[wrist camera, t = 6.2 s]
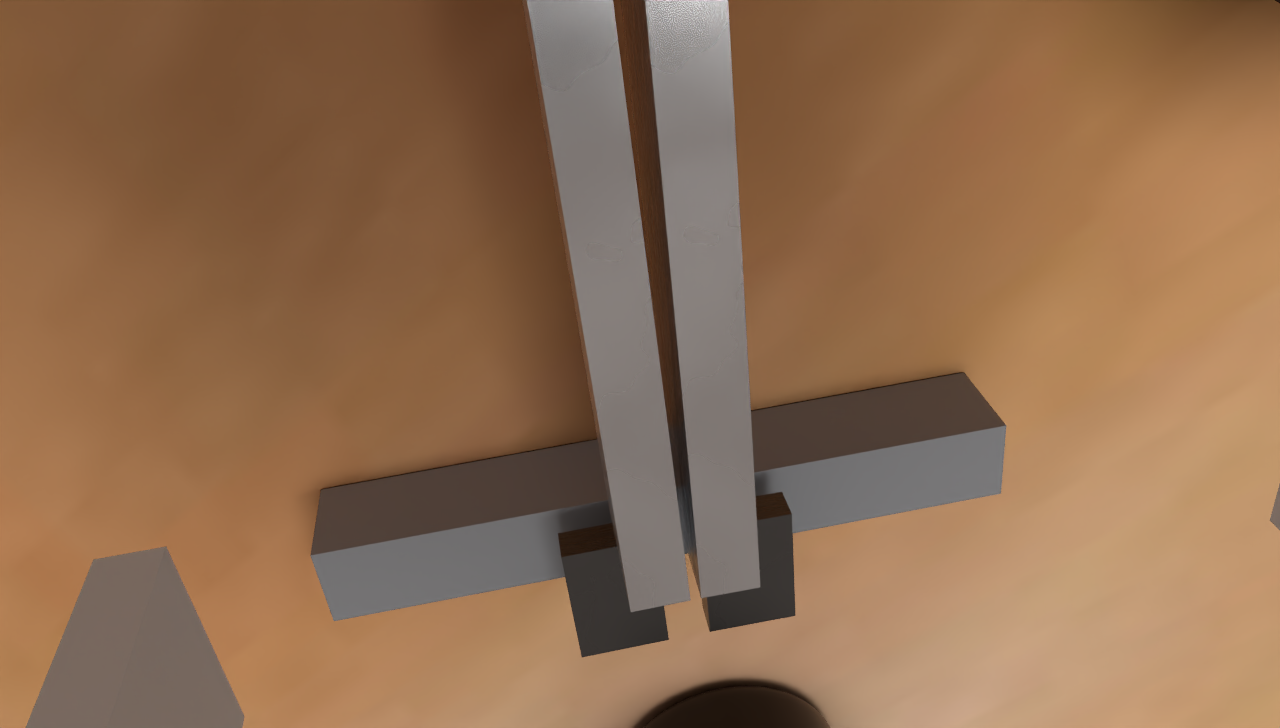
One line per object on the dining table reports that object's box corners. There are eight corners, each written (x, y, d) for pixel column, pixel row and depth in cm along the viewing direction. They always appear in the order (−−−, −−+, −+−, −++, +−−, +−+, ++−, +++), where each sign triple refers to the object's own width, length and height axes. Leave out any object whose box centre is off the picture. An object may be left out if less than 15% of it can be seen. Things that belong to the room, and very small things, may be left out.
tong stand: (-115, -805, 15) (-500, -1164, 9) (1030, -910, 16) (1389, -1293, 10) (342, 552, 27) (314, 788, 21) (960, 437, 28) (1098, 629, 22)
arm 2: (583, -360, 16) (610, -375, 13) (745, -378, 16) (802, -396, 13) (684, 604, 26) (710, 702, 23) (783, 585, 26) (820, 681, 23)
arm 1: (379, -332, 16) (366, -341, 13) (545, -355, 16) (565, -369, 13) (577, 625, 25) (592, 726, 23) (677, 605, 26) (703, 703, 23)
